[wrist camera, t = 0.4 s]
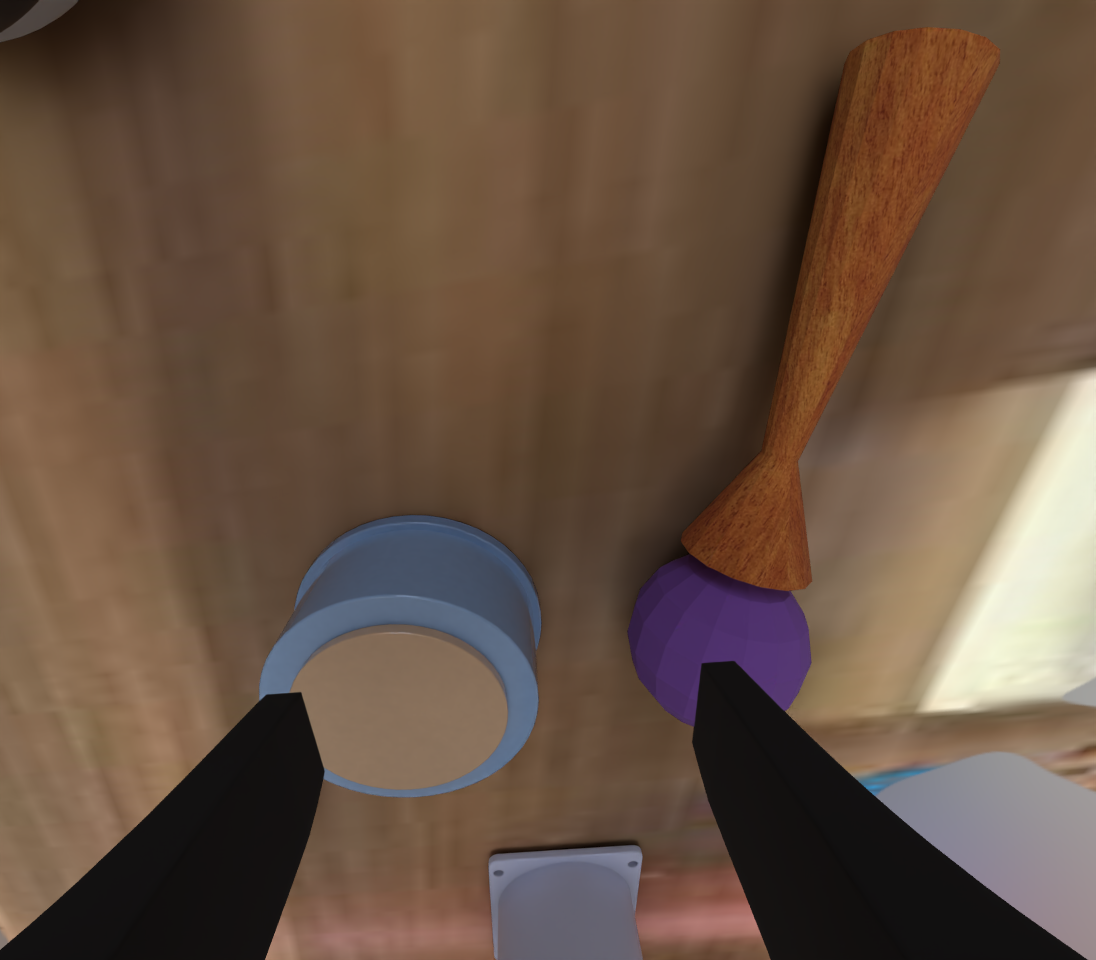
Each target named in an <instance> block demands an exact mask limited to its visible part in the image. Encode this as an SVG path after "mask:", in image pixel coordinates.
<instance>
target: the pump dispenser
mask: <svg viewBox="0 0 1096 960" xmlns="http://www.w3.org/2000/svg"><path fill="white" fill-rule="evenodd" d="M78 1H79V0H0V42H3V41H7V40H11V39H15V38H18V37H22V36H24V35H27V34H29V33H32V32H34V31H36V30H39V29H41V28H42V27H44V26H46V25H48V24H49V23H51V22H53V21H54V20H56V19H58V18H59V17H61V16H62V15H63V14H64V13H65V12H67V11H68V10H69V9H70V8H72V7H73V6H74V5H75V4H76V3H77V2H78Z"/></svg>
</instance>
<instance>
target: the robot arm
mask: <svg viewBox="0 0 1096 960" xmlns="http://www.w3.org/2000/svg"><path fill="white" fill-rule="evenodd" d="M692 743H693V747H694V751H695V754H696V758H697V762H698V766H699V769H700V773H701V777H702V780H703V783H704V787H705V790H706V794H707V797H708V801H709V803H710V806H711V809H712V811H713V814H714V817H715V819H716V822H717V824H718V827H719V829H720V832H721V834H722V837H723V840H724V842H725V845H726V847H727V850H728V852H729V855H730V857H731V860H732V862H733V865H734V867H735V870H736V872H737V875H738V877H739V880H740V883H741V885H742V888H743V890H744V893H745V895H746V898H747V900H748V903H749V905H750V908H751V910H752V913H753V915H754V918H755V920H756V923H757V925H758V928H759V930H760V933H761V935H762V938H763V940H764V943H765V945H766V948H767V951H768V953H769V956H770V959H771V960H1087V959H1086V958H1084V957H1083V956H1082V955H1080V954H1078V953H1077V952H1076V951H1074V950H1073V949H1072V948H1070V947H1069V946H1067V945H1066V944H1064V943H1063V942H1061V941H1060V940H1059V939H1057V938H1056V937H1055V936H1053V935H1052V934H1050V933H1049V932H1047V931H1046V930H1045V929H1043V928H1042V927H1040V926H1039V925H1037V924H1036V923H1035V922H1033V921H1032V920H1030V919H1029V918H1028V917H1026V916H1025V915H1023V914H1022V913H1020V912H1019V911H1018V910H1016V909H1015V908H1014V907H1012V906H1011V905H1009V904H1008V903H1007V902H1006V901H1004V900H1003V899H1002V898H1000V897H999V896H998V895H996V894H995V893H994V892H992V891H991V890H990V889H988V888H986V886H984V885H983V884H982V883H980V882H979V881H978V880H976V879H975V878H974V877H973V876H971V875H970V874H969V873H967V872H966V871H965V870H964V869H962V868H961V867H960V866H959V865H957V864H956V863H955V862H954V861H952V860H951V859H950V858H948V857H947V856H946V855H945V854H943V853H942V852H941V851H939V850H938V849H937V848H935V847H934V846H933V845H932V844H931V843H929V842H928V841H927V840H926V839H924V838H923V837H922V836H921V835H920V834H918V833H917V832H916V831H915V830H914V829H912V828H911V827H910V826H909V825H908V824H906V823H905V822H904V821H903V820H902V819H901V818H899V817H898V816H897V815H896V814H895V813H893V812H892V811H891V810H890V809H889V808H888V807H887V806H886V805H884V804H883V803H882V802H881V801H880V800H879V799H877V798H876V797H875V796H874V795H873V794H872V793H871V792H870V791H868V790H867V789H866V788H865V787H864V786H863V785H862V784H861V783H859V782H858V781H857V780H856V779H855V778H854V777H853V776H852V775H851V774H850V773H848V772H847V771H846V770H845V769H844V768H843V767H842V766H841V765H840V764H839V763H838V762H837V761H836V760H835V759H833V758H832V757H831V756H830V755H829V754H828V753H827V752H826V751H825V750H824V749H823V748H822V747H821V746H820V745H819V744H818V743H817V742H815V741H814V740H813V739H812V738H811V737H810V736H809V735H808V734H807V733H806V732H805V731H804V730H803V729H802V728H801V727H800V726H799V725H798V724H797V723H796V722H795V721H794V720H793V719H792V718H791V717H790V716H789V715H788V714H787V713H786V712H785V711H784V710H783V709H782V708H781V707H780V706H779V705H778V704H777V703H776V702H775V701H774V700H773V699H772V698H771V697H770V696H769V695H768V694H767V693H766V692H765V691H764V690H763V689H762V688H761V687H760V686H759V685H758V684H757V683H756V682H755V681H754V680H753V679H752V678H751V677H750V676H749V675H748V674H747V673H746V672H745V671H744V670H743V669H742V668H741V667H740V666H739V665H738V664H737V663H736V662H735V661H723V662H709V663H701V672H700V680H699V689H698V697H697V706H696V714H695V723H694V732H693V740H692ZM324 774H325V770H324V767H323V763H322V760H321V757H320V753H319V750H318V747H317V743H316V740H315V736H314V733H313V730H312V726H311V723H310V720H309V716H308V713H307V710H306V706H305V703H304V700H303V696H302V693H301V692H294V693H280V694H266V695H265V696H264V697H263V698H262V699H261V700H260V701H259V702H258V703H257V704H256V705H255V706H254V707H253V708H252V709H251V710H250V711H249V712H248V713H247V714H246V716H245V717H244V718H243V719H242V720H241V721H240V722H239V723H238V724H237V725H236V726H235V727H234V728H233V729H232V730H231V731H230V732H229V733H228V734H227V735H226V736H225V737H224V738H223V739H222V740H221V741H220V742H219V743H218V744H217V745H216V746H215V748H214V749H213V750H212V751H211V752H210V753H209V754H208V755H207V756H206V757H205V758H204V759H203V760H202V761H201V762H200V763H199V764H198V765H197V766H196V767H195V768H194V769H193V770H192V771H191V772H190V773H189V774H188V775H187V776H186V777H185V778H184V779H183V780H182V781H181V782H180V783H179V784H178V785H177V786H176V787H175V788H174V789H173V790H172V791H171V792H170V793H169V794H168V795H167V796H166V797H165V798H164V799H163V800H162V801H161V802H160V803H159V804H158V805H157V806H156V807H155V808H154V809H153V810H152V811H151V812H150V813H149V814H148V815H147V816H146V817H145V818H144V819H143V820H142V821H141V822H140V823H139V824H138V825H137V826H136V827H135V828H134V829H133V830H132V831H131V832H130V833H129V834H128V835H127V836H125V837H124V838H123V839H122V840H121V841H120V842H119V843H118V844H117V845H116V846H115V847H114V848H113V849H112V850H111V851H110V852H109V853H108V854H107V855H105V856H104V857H103V858H102V859H101V860H100V861H99V862H98V863H97V864H96V865H95V866H94V867H93V868H92V869H91V870H90V871H89V872H88V873H86V874H85V875H84V876H83V877H82V878H81V879H80V880H79V881H78V882H77V883H76V884H75V885H74V886H73V887H71V888H70V889H69V890H68V891H67V892H66V893H65V894H64V895H63V896H62V897H60V898H59V899H58V900H57V901H56V902H55V903H54V904H53V905H52V906H50V907H49V908H48V909H47V910H46V911H45V912H44V913H42V914H41V915H40V916H39V917H38V918H37V919H36V920H35V921H33V922H32V923H31V924H30V925H29V926H28V927H27V928H25V929H24V930H23V931H22V932H21V933H20V934H18V935H17V936H16V937H15V938H14V939H12V940H11V941H10V942H9V943H8V944H7V945H5V946H4V947H3V948H2V949H1V950H0V960H265V958H266V955H267V953H268V950H269V947H270V944H271V942H272V939H273V936H274V933H275V931H276V928H277V925H278V922H279V920H280V917H281V914H282V911H283V909H284V906H285V903H286V900H287V898H288V895H289V892H290V889H291V886H292V884H293V881H294V878H295V875H296V872H297V870H298V867H299V864H300V861H301V858H302V856H303V853H304V850H305V847H306V844H307V841H308V838H309V835H310V831H311V828H312V824H313V820H314V816H315V812H316V808H317V804H318V800H319V795H320V791H321V787H322V782H323V778H324ZM641 864H642V852H641V848H640V847H639V846H636V845H624V846H609V847H594V848H578V849H563V850H548V851H533V852H518V853H502V854H495V855H493V856H491V857H490V858H489V866H488V868H489V883H490V898H491V913H492V929H493V944H494V957H495V958H496V959H497V960H643V958H642V952H641V947H640V941H639V936H638V931H637V925H636V920H635V910H636V902H637V895H638V887H639V880H640V872H641Z"/></svg>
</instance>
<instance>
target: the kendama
mask: <svg viewBox="0 0 1096 960" xmlns="http://www.w3.org/2000/svg"><path fill="white" fill-rule="evenodd" d="M999 64H1000V49H999V48H998V47H996V46H995V45H994V44H993V43H992V42H991V41H990V40H989V39H987V38H986V37H983V36H980V35H977V34H973V33H970V32H967V31H964V30H961V29H947V28H931V27H925V28H917V29H908V30H900V31H893V32H890V33H887V34H884V35H881V36H878V37H875V38H872V39H869V40H866V41H865V42H864V43H862V44H861V45H859V46H858V47H856V48H855V49H853V50H852V51H851V52H850V53H849V55H848V57H847V60H846V62H845V64H844V69H843V73H842V78H841V83H840V87H839V92H838V96H837V101H836V106H835V110H834V115H833V120H832V124H831V129H830V134H829V138H828V143H827V148H826V152H825V157H824V162H823V166H822V171H821V176H820V180H819V185H818V189H817V194H816V199H815V203H814V208H813V213H812V217H811V222H810V227H809V231H808V236H807V241H806V245H805V250H804V255H803V259H802V264H801V269H800V273H799V278H798V283H797V287H796V292H795V296H794V301H793V306H792V310H791V315H790V320H789V324H788V329H787V334H786V338H785V343H784V348H783V352H782V357H781V362H780V366H779V371H778V376H777V380H776V385H775V389H774V394H773V399H772V403H771V408H770V413H769V417H768V422H767V427H766V431H765V436H764V441H763V445H762V450H761V452H760V453H759V454H758V455H757V456H756V457H755V458H754V459H753V460H752V461H751V462H750V463H749V464H748V465H747V466H746V467H745V468H744V469H743V470H742V471H741V472H740V473H739V475H738V476H737V477H736V478H735V479H734V480H733V481H732V482H731V483H730V484H729V485H728V486H727V487H726V488H725V489H724V490H723V491H722V492H721V493H720V494H719V495H718V496H717V497H716V498H715V499H714V500H713V501H712V502H711V504H710V505H709V506H708V507H707V508H706V509H705V510H704V511H703V512H702V513H701V514H700V515H699V516H698V517H697V518H696V519H695V520H694V521H693V522H692V523H691V524H690V525H689V526H688V527H687V528H686V529H685V530H684V532H683V533H682V537H681V542H682V544H683V545H684V547H685V548H686V549H687V551H688V552H689V553H690V554H689V555H686V556H683V557H681V558H678V559H676V560H673V561H671V562H669V563H667V564H665V565H663V566H662V567H660V568H659V569H658V570H657V571H656V572H655V573H654V574H653V575H652V576H651V578H650V579H649V580H648V581H647V582H646V583H645V584H644V585H643V586H642V587H641V589H640V591H639V595H638V598H637V601H636V604H635V607H634V611H633V614H632V618H631V621H630V625H629V628H628V638H629V643H630V649H631V654H632V660H633V663H634V666H635V669H636V672H637V675H638V678H639V679H640V681H641V682H642V683H643V684H644V685H645V687H646V688H647V689H648V690H649V692H650V693H651V694H652V695H653V696H654V698H655V699H656V700H657V701H658V702H659V703H660V705H661V706H662V707H663V708H664V709H665V710H666V711H667V712H668V713H670V714H671V715H673V716H674V717H676V718H677V719H679V720H680V721H682V722H683V723H686V724H688V725H691V726H694V723H695V714H696V706H697V697H698V689H699V680H700V672H701V663H709V662H723V661H735V662H736V663H737V664H738V665H739V666H740V667H741V668H742V669H743V670H744V671H745V672H746V673H747V674H748V675H749V676H750V677H751V678H752V679H753V680H754V681H755V682H756V683H757V684H758V685H759V686H760V687H761V688H762V689H763V690H764V691H765V692H766V693H767V694H768V695H769V696H770V697H771V698H772V699H773V700H774V701H775V702H776V703H777V704H778V705H779V706H780V707H781V708H782V709H783V710H784V711H785V710H787V709H788V708H789V707H790V705H791V704H792V702H793V700H794V699H795V697H796V696H797V694H798V693H799V690H800V688H801V686H802V684H803V681H804V679H805V677H806V674H807V672H808V670H809V667H810V665H811V653H810V642H809V630H808V626H807V622H806V619H805V615H804V613H803V611H802V609H801V608H800V606H799V604H798V603H797V601H796V599H795V598H794V596H793V594H792V593H791V590H799V589H805V588H806V587H807V586H808V585H809V584H810V583H811V582H812V576H811V567H810V559H809V551H808V542H807V534H806V526H805V517H804V509H803V501H802V492H801V484H800V476H799V468H798V460H799V458H800V456H801V454H802V452H803V450H804V448H805V446H806V444H807V442H808V440H809V438H810V436H811V434H812V432H813V430H814V428H815V426H816V425H817V423H818V421H819V419H820V417H821V415H822V413H823V411H824V409H825V407H826V405H827V403H828V401H829V399H830V397H831V395H832V393H833V391H834V389H835V387H836V385H837V383H838V381H839V379H840V377H841V375H842V373H843V371H844V369H845V367H846V365H847V363H848V361H849V359H850V357H851V356H852V354H853V352H854V350H855V348H856V346H857V344H858V342H859V340H860V338H861V336H862V334H863V332H864V330H865V328H866V326H867V324H868V322H869V320H870V318H871V316H872V314H873V312H874V310H875V308H876V306H877V304H878V302H879V300H880V298H881V296H882V294H883V292H884V290H885V289H886V287H887V285H888V283H889V281H890V279H891V277H892V275H893V273H894V271H895V269H896V267H897V265H898V263H899V261H900V259H901V257H902V255H903V253H904V251H905V249H906V247H907V245H908V243H909V241H910V239H911V237H912V235H913V233H914V231H915V229H916V227H917V225H918V223H919V221H920V220H921V218H922V216H923V214H924V212H925V210H926V208H927V206H928V204H929V202H930V200H931V198H932V196H933V194H934V192H935V190H936V188H937V186H938V184H939V182H940V180H941V178H942V176H943V174H944V172H945V170H946V168H947V166H948V164H949V162H950V160H951V158H952V156H953V154H954V153H955V151H956V149H957V147H958V145H959V143H960V141H961V139H962V137H963V135H964V133H965V131H966V129H967V127H968V125H969V123H970V121H971V119H972V117H973V115H974V113H975V111H976V109H977V107H978V105H979V103H980V101H981V99H982V97H983V95H984V93H985V91H986V89H987V87H988V85H989V84H990V82H991V80H992V78H993V76H994V74H995V72H996V70H997V68H998V66H999Z"/></svg>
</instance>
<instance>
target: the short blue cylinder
mask: <svg viewBox="0 0 1096 960" xmlns="http://www.w3.org/2000/svg"><path fill="white" fill-rule="evenodd" d="M541 624H542V622H541V609H540V601H539V597H538V593H537V590H536V587H535V585H534V582H533V580H532V578H531V576H530V575H529V573H528V571H527V570H526V568H525V567H524V565H523V564H522V563H521V562H520V561H519V559H518V558H517V557H516V556H515V555H514V554H513V553H512V552H511V551H510V550H509V549H508V548H507V547H506V546H504V545H503V544H502V543H500V542H499V541H498V540H496V539H495V538H493V537H492V536H490V535H488V534H486V533H485V532H483V531H481V530H479V529H477V528H475V527H472V526H469V525H467V524H464V523H462V522H458V521H454V520H451V519H447V518H441V517H434V516H425V515H405V516H394V517H389V518H384V519H379V520H375V521H372V522H369V523H366V524H363V525H360V526H358V527H356V528H354V529H352V530H350V531H348V532H346V533H345V534H343V535H342V536H340V537H339V538H337V539H335V540H334V541H333V542H332V543H331V544H329V545H328V546H327V547H326V548H325V549H324V550H323V551H322V552H321V553H320V554H319V555H318V557H317V558H316V559H315V560H314V561H313V563H312V565H311V566H310V568H309V570H308V571H307V573H306V575H305V576H304V578H303V580H302V582H301V585H300V587H299V590H298V593H297V597H296V602H295V610H294V612H293V614H292V616H291V617H290V619H289V621H288V622H287V624H286V626H285V627H284V629H283V631H282V633H281V634H280V636H279V638H278V639H277V641H276V643H275V645H274V646H273V648H272V650H271V651H270V653H269V655H268V656H267V658H266V661H265V664H264V666H263V669H262V672H261V678H260V683H259V701H260V700H261V699H262V698H263V697H264V696H265V695H266V694H280V693H294V692H301V693H302V696H303V700H304V703H305V706H306V710H307V713H308V716H309V720H310V723H311V726H312V730H313V733H314V736H315V740H316V743H317V747H318V750H319V753H320V757H321V760H322V763H323V767H324V770H325V774H324V778H323V779H324V780H326V781H329V782H331V783H333V784H335V785H338V786H341V787H344V788H347V789H350V790H353V791H357V792H361V793H365V794H371V795H377V796H385V797H423V796H432V795H437V794H443V793H448V792H451V791H455V790H458V789H462V788H464V787H467V786H469V785H472V784H474V783H477V782H479V781H481V780H483V779H485V778H486V777H488V776H490V775H492V774H493V773H495V772H496V771H498V770H499V769H501V768H502V767H503V766H504V765H505V764H507V763H508V762H509V761H510V760H511V759H512V758H513V757H514V756H515V755H516V754H517V753H518V752H519V750H520V749H521V748H522V747H523V745H524V744H525V742H526V740H527V739H528V737H529V735H530V733H531V731H532V729H533V726H534V724H535V720H536V717H537V713H538V703H539V694H538V678H537V662H536V650H537V647H538V644H539V640H540V636H541Z"/></svg>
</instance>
